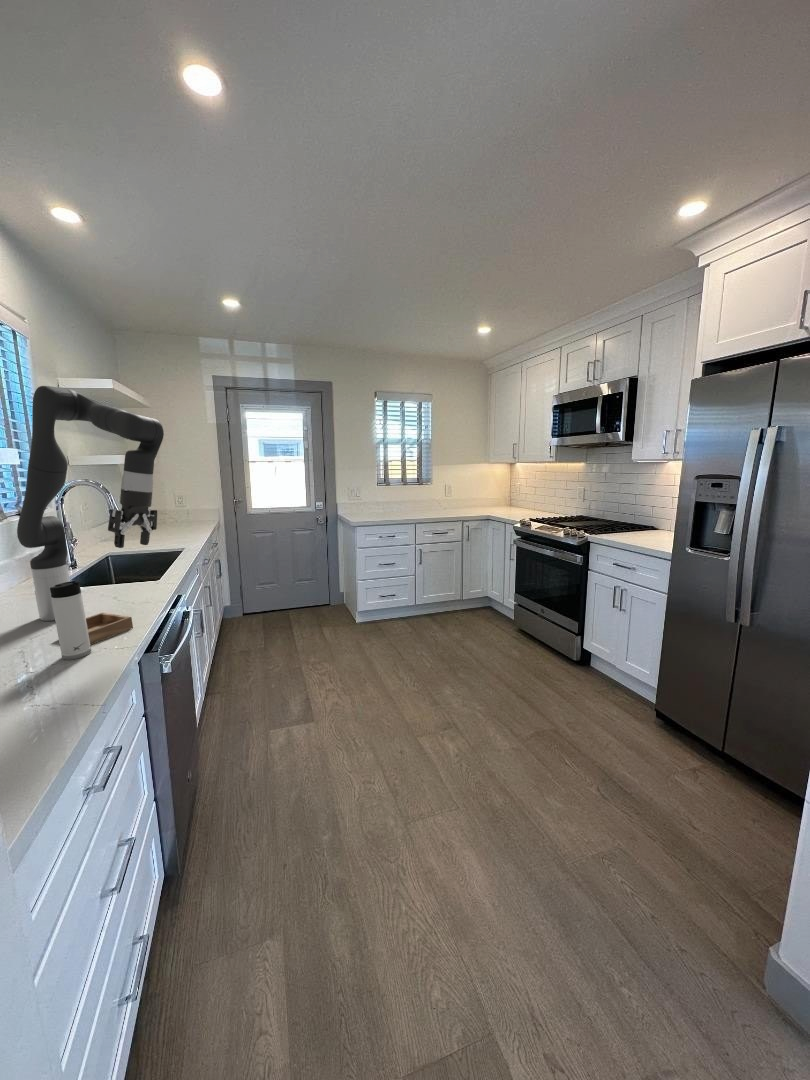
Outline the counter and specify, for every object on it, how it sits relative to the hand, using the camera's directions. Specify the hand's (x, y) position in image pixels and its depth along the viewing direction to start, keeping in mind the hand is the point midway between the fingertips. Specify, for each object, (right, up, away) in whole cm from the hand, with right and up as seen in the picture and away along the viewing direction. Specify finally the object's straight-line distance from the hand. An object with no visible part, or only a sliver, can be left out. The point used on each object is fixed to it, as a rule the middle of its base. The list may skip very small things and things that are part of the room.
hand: (131, 546), depth 125 cm
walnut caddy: (-15, -26, +7) cm, 31 cm away
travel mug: (-10, -29, -8) cm, 31 cm away
